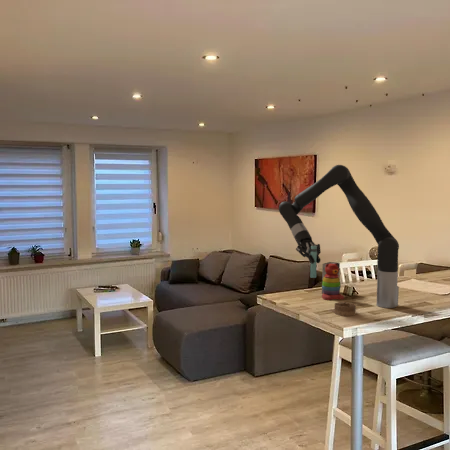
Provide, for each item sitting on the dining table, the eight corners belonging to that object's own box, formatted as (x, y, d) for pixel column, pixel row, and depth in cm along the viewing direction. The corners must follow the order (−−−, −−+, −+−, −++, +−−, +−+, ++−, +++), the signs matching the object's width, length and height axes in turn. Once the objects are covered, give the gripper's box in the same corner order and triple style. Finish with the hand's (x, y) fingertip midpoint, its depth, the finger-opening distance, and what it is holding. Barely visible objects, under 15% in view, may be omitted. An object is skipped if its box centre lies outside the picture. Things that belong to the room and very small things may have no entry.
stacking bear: (325, 300, 239) (326, 265, 238) (317, 295, 249) (318, 262, 248) (345, 299, 242) (346, 264, 240) (336, 294, 251) (337, 261, 250)
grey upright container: (332, 295, 251) (333, 264, 250) (321, 293, 255) (321, 263, 253) (339, 291, 258) (340, 262, 257) (328, 290, 262) (329, 261, 261)
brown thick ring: (345, 309, 222) (345, 301, 222) (359, 314, 214) (359, 305, 214) (330, 312, 218) (330, 303, 218) (344, 317, 210) (344, 308, 210)
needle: (313, 276, 229) (314, 245, 228) (317, 277, 227) (318, 246, 226) (309, 276, 228) (309, 246, 227) (312, 277, 226) (313, 246, 224)
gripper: (292, 230, 229) (307, 258, 219) (315, 228, 235) (331, 256, 226) (286, 240, 234) (300, 268, 224) (309, 238, 240) (324, 265, 231)
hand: (316, 262), depth 225 cm, fingers closed on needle, 2 cm apart
